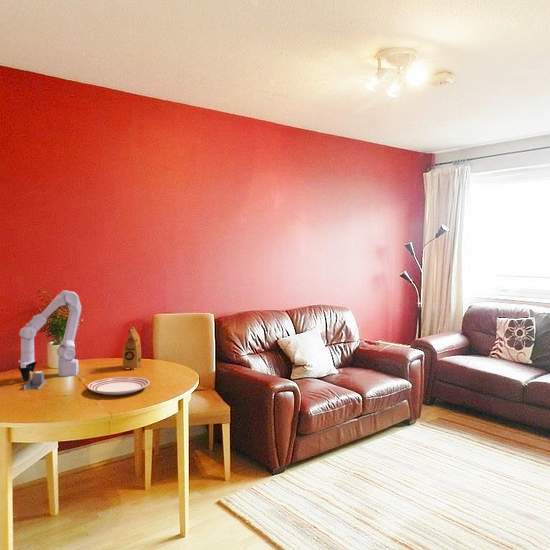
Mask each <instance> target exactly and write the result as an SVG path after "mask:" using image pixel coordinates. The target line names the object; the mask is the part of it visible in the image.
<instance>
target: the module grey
mask: <svg viewBox="0 0 550 550" xmlns="http://www.w3.org/2000/svg"><path fill="white" fill-rule="evenodd" d="M44 380H45V371H42V370H40V371H38V370H37V371H33V374H32V384H41V383H42V382H43V381H44Z"/></svg>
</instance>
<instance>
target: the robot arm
mask: <svg viewBox="0 0 550 550" xmlns="http://www.w3.org/2000/svg"><path fill="white" fill-rule="evenodd" d="M62 306H63V307H64V306H67V308H68V309H69V313H68V318H67V321H66V325H65V326H66V327H65V330H64V335H63V339H62V340H61V342H60V345H59V346H58V348H57V349H56V354H57V356H58V358H57V362H58V363H57V365H58V366H57V367H58V368H57V369H58V371H57V372H58V374H57V375H58V376H59V377H70V376H71V377H72V376H74V377H76V376H77V375H78V374H79V373H80V372H79V359H76V358H75V356H76V349H75V348H76V345H75V339H76V335H77V332H78V331H77V330H78V326H79V322H80V317H81V314H82V313H81V312H82V305H81V301H80V296H79V295H78V294H77V292H75V291H71V290H66V289H64V290H61V292H59V293H58V294H57V295H56V296H55V298H54V299H52V301H51V302H50V303H49V304H48V305H47V307H46V308H45V309H44V310H42V312H41V313H37V314H36V315H33V316H32V319H31V320H30V321H29V322H28V323H25V326H24V327H22V328H20V331H19V332H18V334H19V336H20V359H19V360H18V363H20V366H18V368H17V369H18V370H19V372H20V374H21V379H22V378H23V381H22V382H28V380H29V374H30V371H31V372H32V371H33V372H35V371H34V370H35V368H36V365H37V361H35V337H36V336H37V332H38V331H39V330H40V329H42V327H43V326H44V325H45V324H46V323H48V322H47V321H48V318H49V316H51V314H52V313H54V311H56V310H57V309H58V308H59V307H62Z"/></svg>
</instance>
